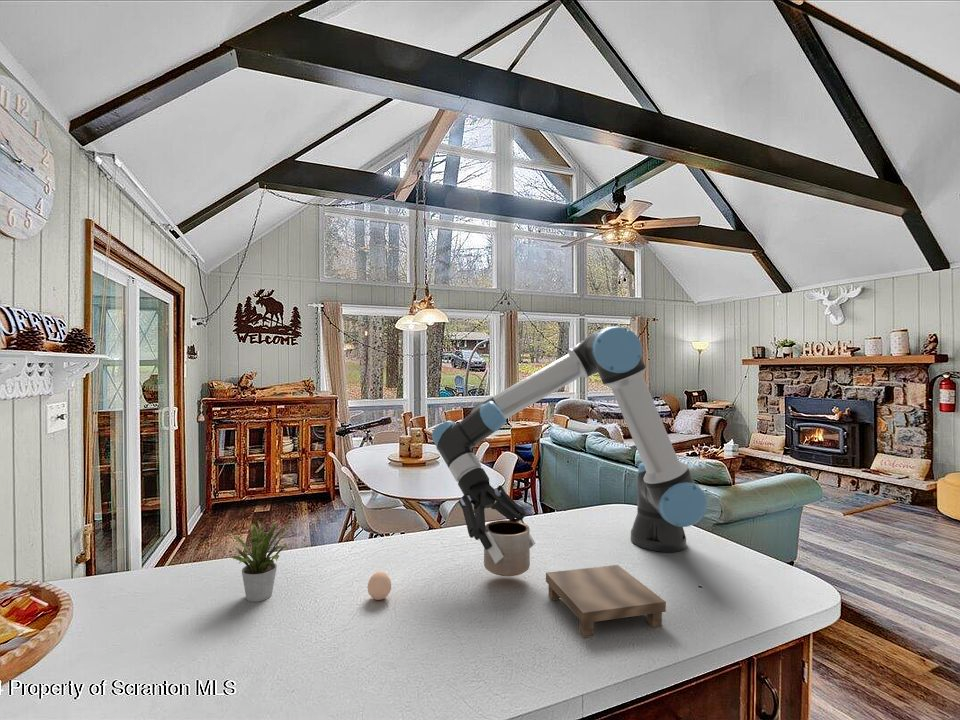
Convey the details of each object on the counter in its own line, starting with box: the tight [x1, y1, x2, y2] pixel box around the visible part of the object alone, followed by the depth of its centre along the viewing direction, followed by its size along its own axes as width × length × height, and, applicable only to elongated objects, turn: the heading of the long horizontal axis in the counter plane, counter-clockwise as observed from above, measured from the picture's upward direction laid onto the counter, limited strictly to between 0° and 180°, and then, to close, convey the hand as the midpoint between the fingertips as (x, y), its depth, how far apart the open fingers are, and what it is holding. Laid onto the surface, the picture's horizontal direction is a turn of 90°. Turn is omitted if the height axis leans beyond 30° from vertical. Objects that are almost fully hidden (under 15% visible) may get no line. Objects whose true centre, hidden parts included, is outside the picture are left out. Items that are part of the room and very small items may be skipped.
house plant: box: [226, 519, 296, 603], centre depth 110 cm, size 14×14×16 cm
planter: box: [483, 519, 531, 577], centre depth 120 cm, size 11×11×10 cm
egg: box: [367, 570, 392, 601], centre depth 110 cm, size 5×5×6 cm
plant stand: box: [545, 564, 667, 638], centre depth 106 cm, size 18×18×5 cm
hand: (516, 553), depth 117 cm, fingers closed on planter, 11 cm apart
